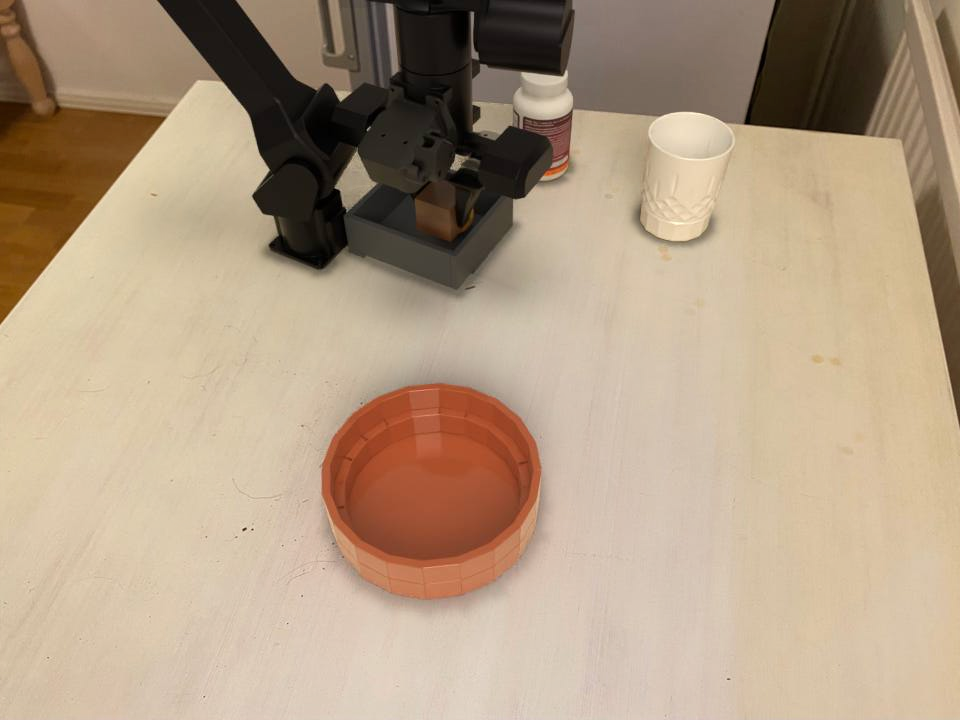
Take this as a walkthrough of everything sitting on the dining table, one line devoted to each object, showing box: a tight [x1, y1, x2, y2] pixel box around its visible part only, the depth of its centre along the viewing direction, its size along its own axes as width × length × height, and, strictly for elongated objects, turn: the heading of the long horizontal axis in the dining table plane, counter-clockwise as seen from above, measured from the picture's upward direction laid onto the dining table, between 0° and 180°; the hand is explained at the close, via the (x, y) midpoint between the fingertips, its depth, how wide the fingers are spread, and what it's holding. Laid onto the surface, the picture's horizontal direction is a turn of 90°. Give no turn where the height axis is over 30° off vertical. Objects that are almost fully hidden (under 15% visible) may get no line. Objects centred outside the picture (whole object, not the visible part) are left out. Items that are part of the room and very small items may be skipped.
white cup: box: [639, 111, 736, 242], centre depth 78 cm, size 8×8×10 cm
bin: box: [343, 168, 514, 291], centre depth 79 cm, size 12×11×4 cm
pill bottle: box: [512, 68, 574, 182], centre depth 84 cm, size 6×6×11 cm
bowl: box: [321, 382, 543, 601], centre depth 58 cm, size 15×15×5 cm
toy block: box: [415, 180, 470, 242], centre depth 73 cm, size 4×4×4 cm
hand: (443, 218), depth 74 cm, fingers closed on toy block, 4 cm apart
